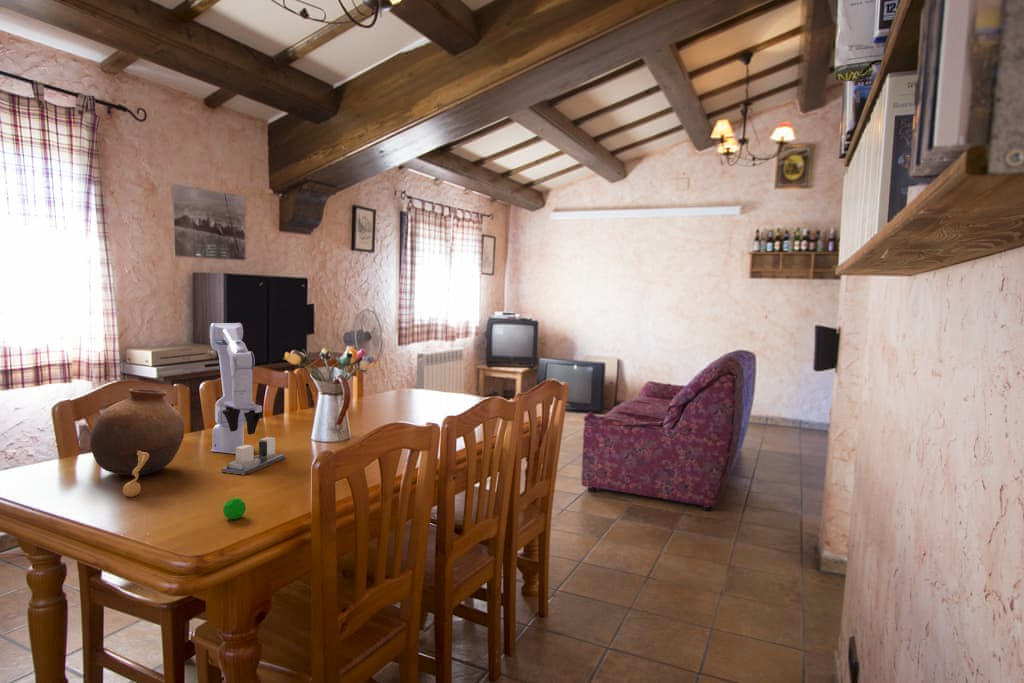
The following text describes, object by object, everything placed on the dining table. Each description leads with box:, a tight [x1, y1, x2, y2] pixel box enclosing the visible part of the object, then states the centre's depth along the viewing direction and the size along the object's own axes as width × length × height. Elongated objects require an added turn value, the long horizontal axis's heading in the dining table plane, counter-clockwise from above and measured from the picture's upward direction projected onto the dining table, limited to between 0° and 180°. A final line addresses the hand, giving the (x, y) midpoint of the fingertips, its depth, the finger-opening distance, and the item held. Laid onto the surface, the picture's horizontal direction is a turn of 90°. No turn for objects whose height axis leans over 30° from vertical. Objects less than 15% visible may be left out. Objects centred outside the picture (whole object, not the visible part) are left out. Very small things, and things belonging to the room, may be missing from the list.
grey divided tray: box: [220, 436, 286, 476], centre depth 188 cm, size 8×20×7 cm, turn 166°
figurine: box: [122, 451, 149, 498], centre depth 157 cm, size 8×6×12 cm
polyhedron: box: [222, 497, 247, 520], centre depth 144 cm, size 5×5×5 cm
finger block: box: [235, 444, 255, 464], centre depth 183 cm, size 3×4×6 cm
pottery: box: [89, 388, 186, 477], centre depth 175 cm, size 23×23×25 cm
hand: (242, 432), depth 190 cm, fingers open, 7 cm apart
